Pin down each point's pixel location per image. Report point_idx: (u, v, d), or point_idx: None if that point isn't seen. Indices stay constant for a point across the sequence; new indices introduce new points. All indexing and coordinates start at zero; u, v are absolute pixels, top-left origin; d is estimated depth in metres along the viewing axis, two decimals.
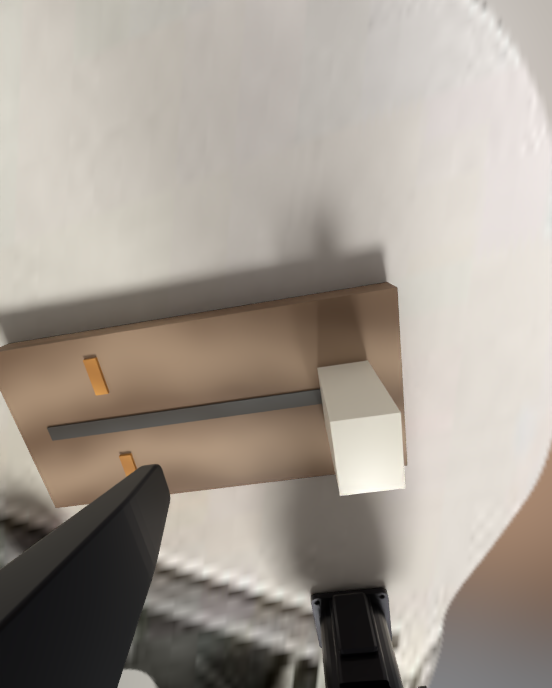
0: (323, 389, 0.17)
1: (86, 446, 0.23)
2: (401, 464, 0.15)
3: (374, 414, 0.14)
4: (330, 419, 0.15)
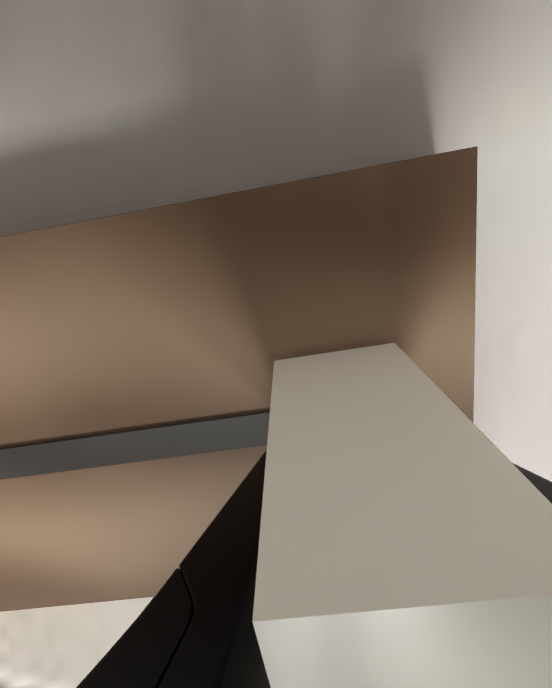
0: (272, 422, 0.06)
1: None
2: None
3: (480, 584, 0.03)
4: (257, 601, 0.03)
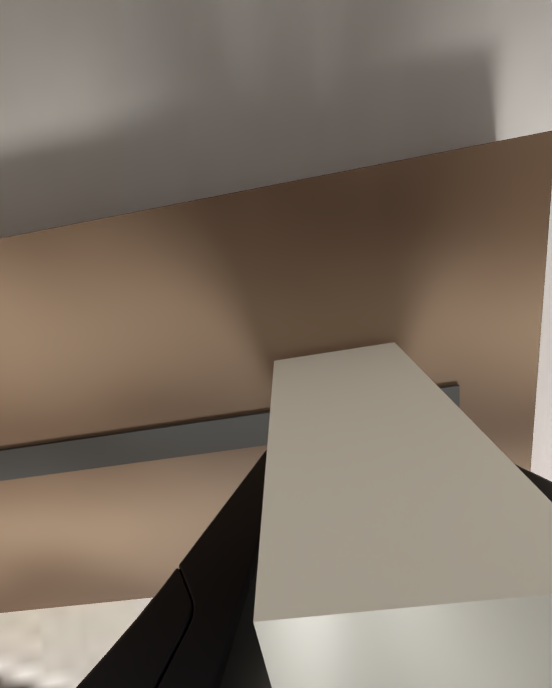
0: (272, 422, 0.06)
1: None
2: None
3: (480, 582, 0.03)
4: (257, 600, 0.03)
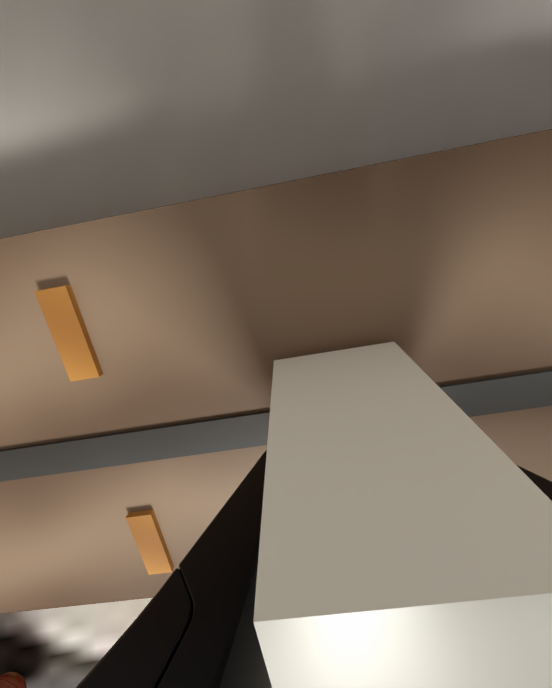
0: (272, 422, 0.06)
1: (54, 496, 0.10)
2: None
3: (481, 583, 0.03)
4: (258, 602, 0.03)
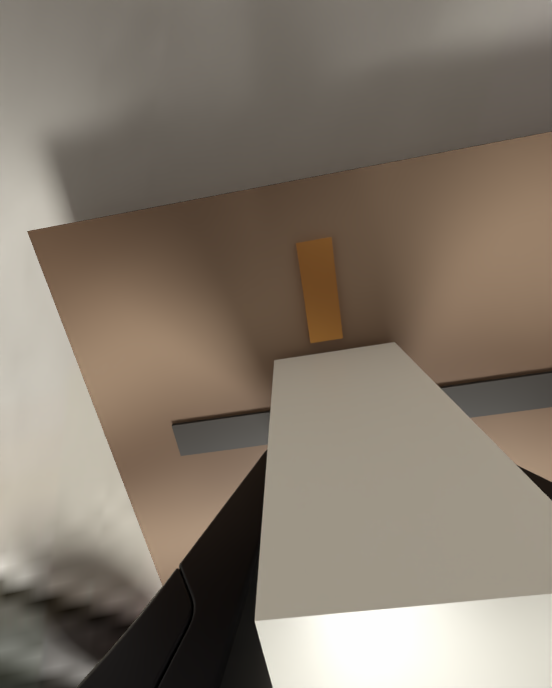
0: (272, 422, 0.06)
1: None
2: None
3: (482, 582, 0.03)
4: (258, 601, 0.03)
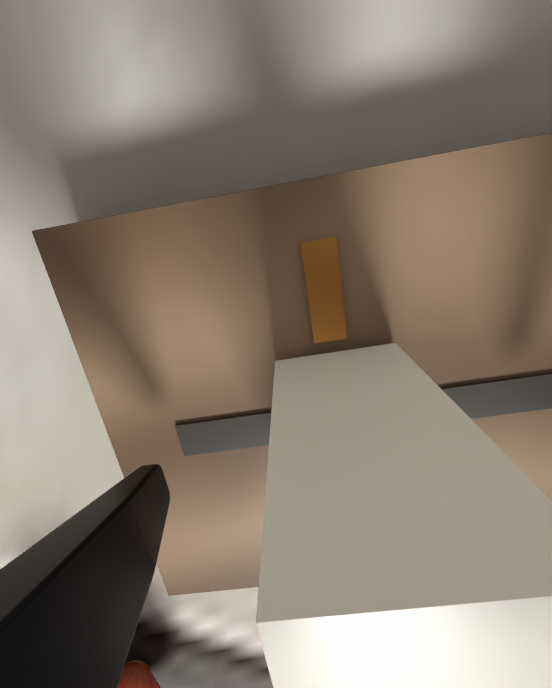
0: (273, 422, 0.06)
1: (259, 469, 0.10)
2: None
3: (484, 584, 0.03)
4: (261, 603, 0.03)
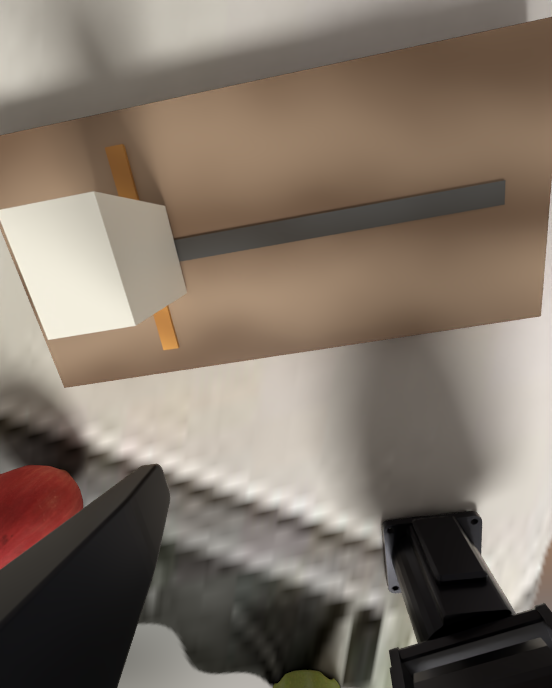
0: None
1: None
2: (119, 283, 0.10)
3: (61, 198, 0.10)
4: (1, 210, 0.10)
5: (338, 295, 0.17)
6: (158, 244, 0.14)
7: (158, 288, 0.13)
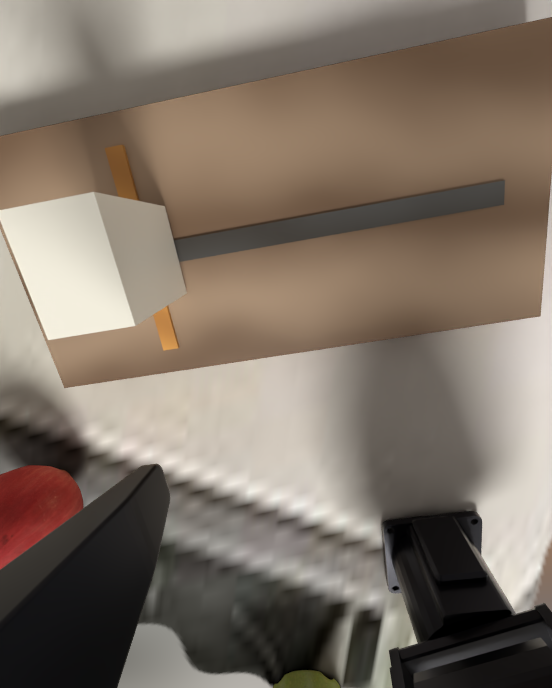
0: None
1: None
2: (118, 284, 0.10)
3: (61, 198, 0.10)
4: (1, 211, 0.10)
5: (338, 295, 0.17)
6: (158, 244, 0.14)
7: (158, 289, 0.13)
